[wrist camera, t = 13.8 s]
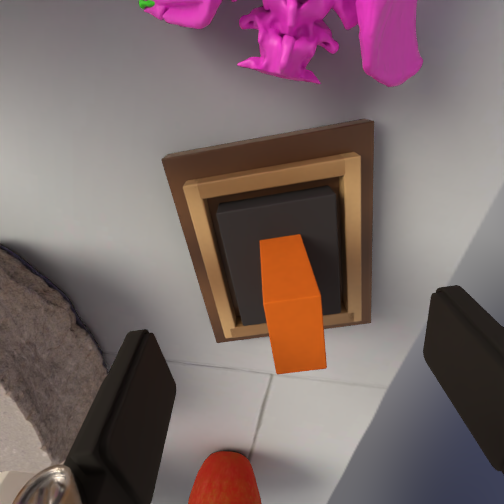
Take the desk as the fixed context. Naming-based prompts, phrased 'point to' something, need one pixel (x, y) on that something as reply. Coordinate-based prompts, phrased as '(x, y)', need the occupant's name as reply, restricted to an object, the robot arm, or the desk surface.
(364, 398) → the desk surface
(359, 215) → the backing board
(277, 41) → the pelvis
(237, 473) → the apple
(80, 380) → the decorative stone
